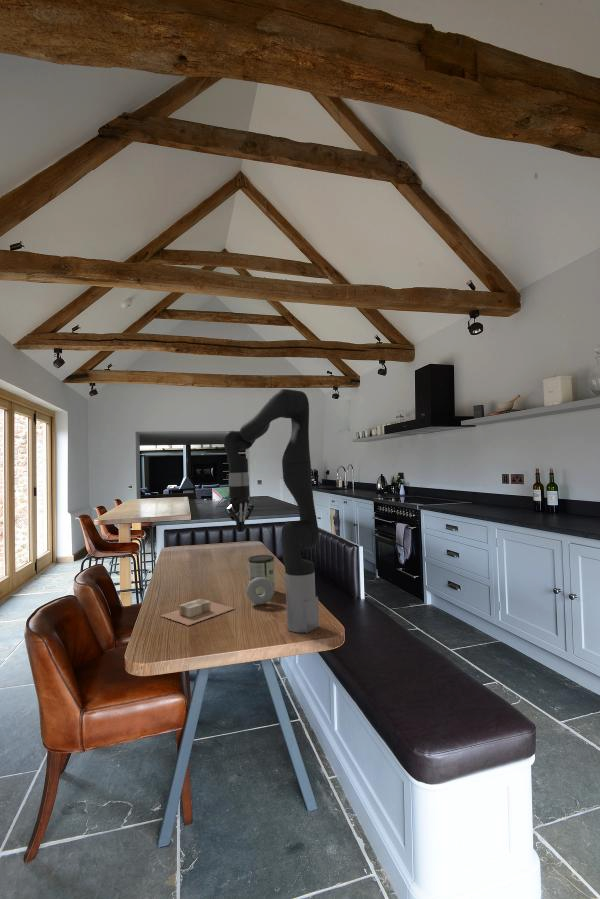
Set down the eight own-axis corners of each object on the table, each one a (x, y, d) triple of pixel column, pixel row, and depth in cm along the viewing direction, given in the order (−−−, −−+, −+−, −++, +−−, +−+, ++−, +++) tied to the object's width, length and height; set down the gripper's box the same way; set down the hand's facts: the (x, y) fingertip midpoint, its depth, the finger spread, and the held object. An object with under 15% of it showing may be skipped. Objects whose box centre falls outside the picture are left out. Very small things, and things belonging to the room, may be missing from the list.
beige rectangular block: (210, 601, 156) (189, 608, 149) (210, 610, 156) (189, 618, 149) (199, 598, 160) (178, 605, 153) (200, 607, 160) (179, 614, 153)
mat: (234, 609, 158) (234, 608, 158) (188, 626, 143) (188, 625, 143) (206, 601, 168) (206, 600, 168) (160, 616, 153) (160, 615, 153)
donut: (247, 607, 160) (246, 579, 161) (246, 604, 164) (246, 577, 164) (274, 604, 162) (273, 577, 162) (273, 602, 165) (272, 575, 165)
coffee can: (252, 589, 183) (251, 554, 184) (277, 589, 182) (276, 554, 182) (246, 596, 173) (245, 560, 174) (272, 596, 172) (271, 560, 172)
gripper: (232, 485, 157) (234, 535, 156) (258, 483, 167) (260, 530, 166) (218, 485, 161) (220, 533, 161) (245, 483, 172) (246, 528, 171)
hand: (240, 531), depth 163 cm, fingers closed
